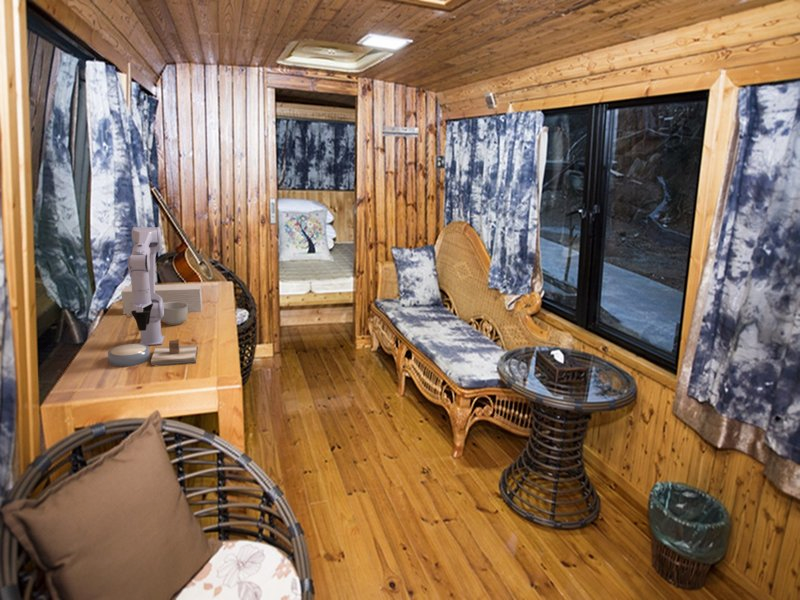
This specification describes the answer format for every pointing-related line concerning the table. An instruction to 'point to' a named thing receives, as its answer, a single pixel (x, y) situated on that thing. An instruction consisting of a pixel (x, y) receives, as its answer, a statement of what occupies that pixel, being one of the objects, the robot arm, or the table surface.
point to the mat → (177, 362)
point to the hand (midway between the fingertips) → (144, 327)
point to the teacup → (174, 313)
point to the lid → (174, 353)
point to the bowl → (128, 355)
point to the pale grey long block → (169, 296)
